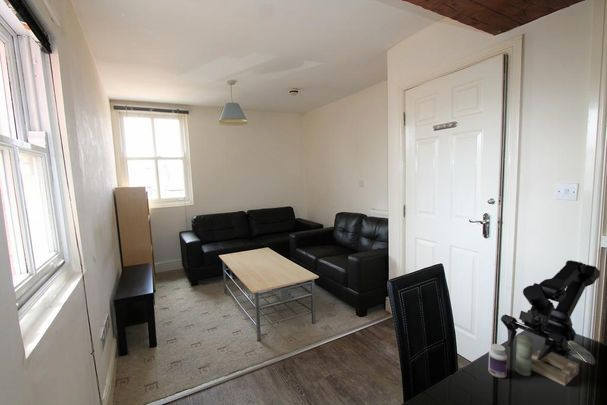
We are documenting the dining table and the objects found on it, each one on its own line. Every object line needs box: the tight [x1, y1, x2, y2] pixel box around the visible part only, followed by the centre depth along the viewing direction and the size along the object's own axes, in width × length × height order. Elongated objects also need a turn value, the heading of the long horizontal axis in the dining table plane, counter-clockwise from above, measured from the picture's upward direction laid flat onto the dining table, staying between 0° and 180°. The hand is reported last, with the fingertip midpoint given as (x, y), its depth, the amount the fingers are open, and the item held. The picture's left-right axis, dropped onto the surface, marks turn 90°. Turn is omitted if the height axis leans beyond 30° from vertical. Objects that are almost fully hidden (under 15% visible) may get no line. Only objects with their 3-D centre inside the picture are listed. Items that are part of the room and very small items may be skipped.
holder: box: [531, 347, 580, 387], centre depth 104 cm, size 11×11×4 cm
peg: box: [515, 334, 534, 377], centre depth 104 cm, size 4×4×12 cm
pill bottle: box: [487, 343, 508, 379], centre depth 104 cm, size 5×5×10 cm
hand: (523, 352), depth 103 cm, fingers open, 9 cm apart
